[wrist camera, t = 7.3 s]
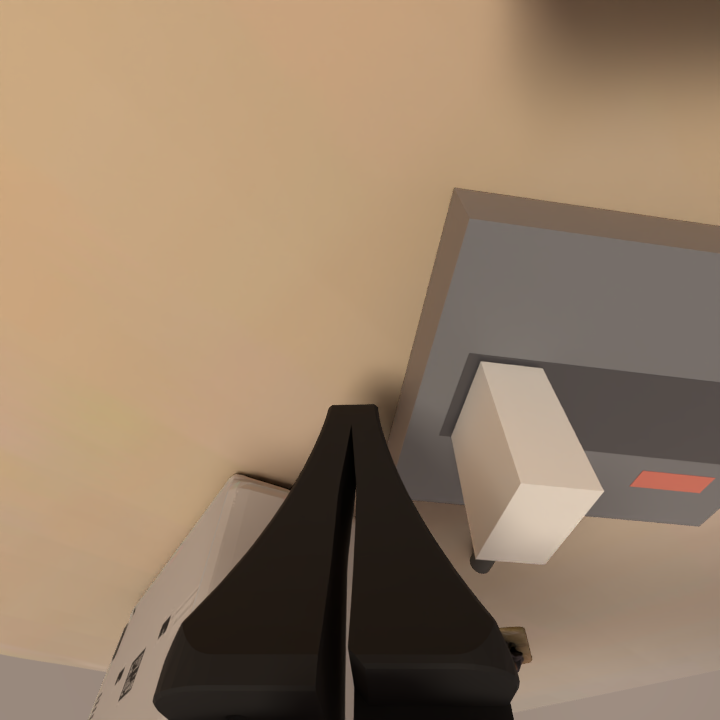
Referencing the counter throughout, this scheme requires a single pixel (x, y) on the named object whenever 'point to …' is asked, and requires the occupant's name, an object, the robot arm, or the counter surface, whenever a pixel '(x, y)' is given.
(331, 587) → the robot arm
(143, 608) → the stereo radio cassette player
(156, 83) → the counter surface
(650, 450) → the box
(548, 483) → the breaker toggle
